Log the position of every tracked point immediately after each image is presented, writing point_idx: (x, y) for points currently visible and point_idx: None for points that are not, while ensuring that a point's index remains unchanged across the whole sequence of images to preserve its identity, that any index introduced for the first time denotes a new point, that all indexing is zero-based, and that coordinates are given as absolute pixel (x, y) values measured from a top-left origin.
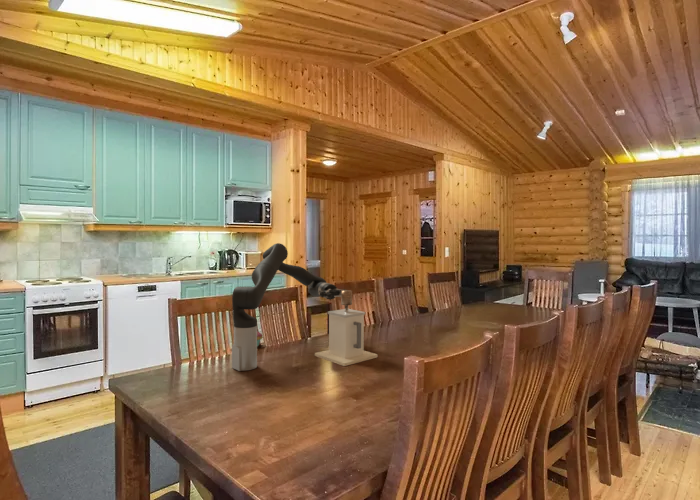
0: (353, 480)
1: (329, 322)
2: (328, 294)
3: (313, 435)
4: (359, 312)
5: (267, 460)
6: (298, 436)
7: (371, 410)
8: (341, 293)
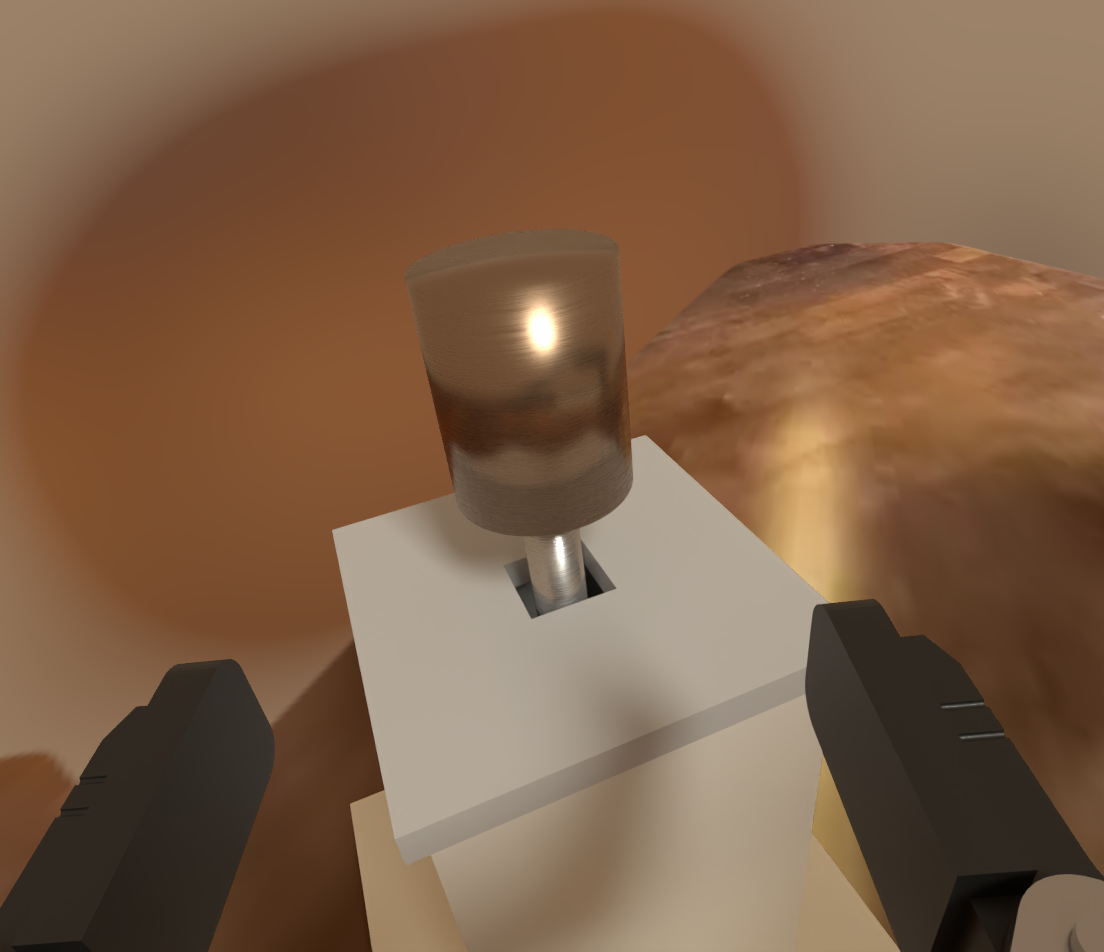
0: (787, 254)
1: (816, 749)
2: (924, 644)
3: (861, 307)
4: (411, 526)
5: (948, 272)
6: (897, 306)
7: (694, 360)
8: (621, 295)
